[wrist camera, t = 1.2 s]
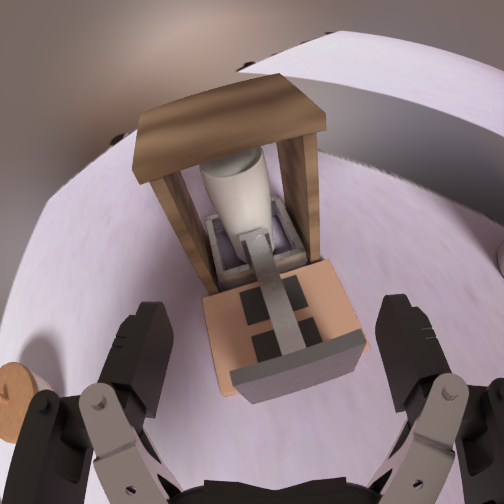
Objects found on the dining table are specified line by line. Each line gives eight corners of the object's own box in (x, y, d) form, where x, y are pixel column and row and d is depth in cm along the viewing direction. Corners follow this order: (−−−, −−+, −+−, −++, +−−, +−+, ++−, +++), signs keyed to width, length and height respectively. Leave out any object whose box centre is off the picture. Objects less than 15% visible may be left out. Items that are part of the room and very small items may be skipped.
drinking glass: (245, 279, 39) (214, 188, 27) (222, 245, 43) (188, 158, 31) (290, 253, 40) (277, 157, 28) (264, 223, 44) (244, 132, 32)
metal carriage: (210, 231, 44) (187, 174, 36) (280, 210, 44) (271, 149, 36) (253, 409, 28) (228, 387, 20) (352, 376, 28) (370, 340, 20)
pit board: (205, 304, 37) (201, 297, 36) (328, 265, 38) (328, 258, 36) (225, 396, 30) (220, 393, 29) (367, 350, 30) (370, 345, 29)
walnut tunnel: (194, 236, 45) (140, 113, 29) (295, 205, 45) (279, 73, 29) (206, 302, 38) (131, 169, 22) (326, 265, 38) (325, 113, 22)
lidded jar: (71, 375, 34) (24, 348, 26) (80, 450, 27) (26, 438, 20) (24, 387, 33) (-21, 363, 26) (29, 453, 26) (-21, 439, 19)
